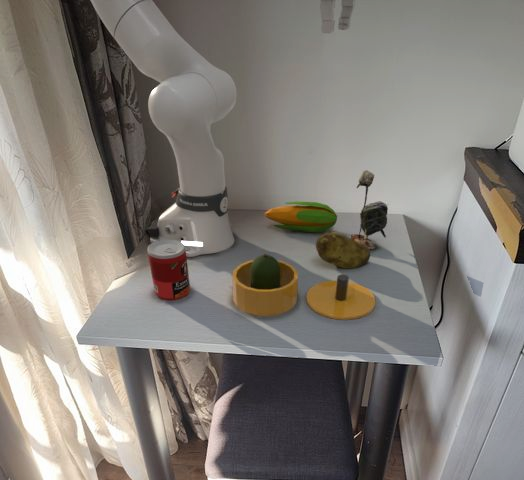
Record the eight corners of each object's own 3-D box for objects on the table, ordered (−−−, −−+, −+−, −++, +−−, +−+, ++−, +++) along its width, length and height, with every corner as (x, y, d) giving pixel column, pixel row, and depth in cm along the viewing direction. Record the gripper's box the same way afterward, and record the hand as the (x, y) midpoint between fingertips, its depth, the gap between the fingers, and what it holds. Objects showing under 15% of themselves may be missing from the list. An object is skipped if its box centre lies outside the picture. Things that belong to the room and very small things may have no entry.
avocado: (246, 302, 99) (244, 258, 93) (258, 288, 104) (258, 245, 97) (272, 309, 97) (272, 264, 91) (284, 294, 102) (285, 251, 95)
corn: (337, 209, 120) (262, 203, 123) (334, 237, 124) (261, 231, 127) (339, 200, 126) (266, 195, 129) (336, 227, 130) (266, 222, 133)
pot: (222, 308, 98) (220, 282, 94) (251, 279, 108) (250, 254, 104) (281, 324, 94) (281, 297, 90) (306, 292, 103) (307, 266, 99)
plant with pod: (387, 254, 117) (401, 173, 104) (341, 252, 118) (351, 172, 105) (383, 240, 123) (396, 162, 111) (340, 238, 124) (349, 161, 111)
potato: (366, 277, 108) (370, 245, 103) (311, 269, 111) (314, 238, 106) (369, 260, 114) (374, 230, 109) (318, 254, 117) (320, 224, 112)
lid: (295, 311, 97) (297, 286, 93) (319, 279, 107) (321, 255, 104) (363, 329, 92) (367, 303, 88) (382, 293, 102) (386, 269, 99)
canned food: (180, 304, 99) (174, 258, 93) (148, 297, 102) (139, 252, 95) (196, 287, 105) (191, 242, 98) (165, 281, 107) (158, 236, 100)
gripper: (345, -68, 82) (336, 27, 91) (305, -81, 68) (298, 34, 76) (380, -68, 80) (368, 28, 89) (346, -82, 66) (335, 36, 74)
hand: (335, 31), depth 82 cm, fingers open, 8 cm apart
